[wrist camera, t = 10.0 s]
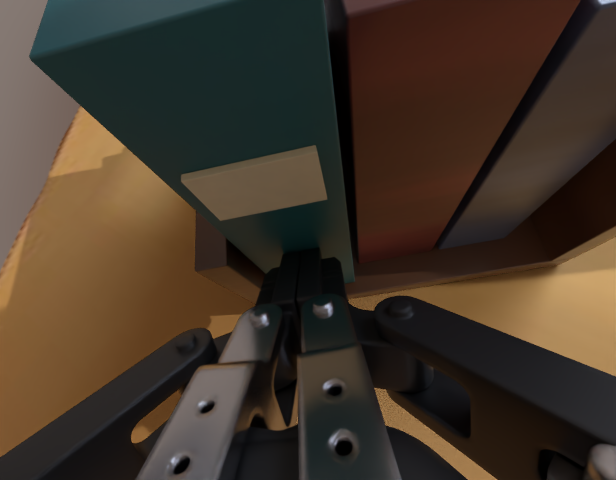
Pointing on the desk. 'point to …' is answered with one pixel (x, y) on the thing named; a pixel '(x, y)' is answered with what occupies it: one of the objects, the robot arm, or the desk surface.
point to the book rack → (463, 140)
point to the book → (216, 109)
